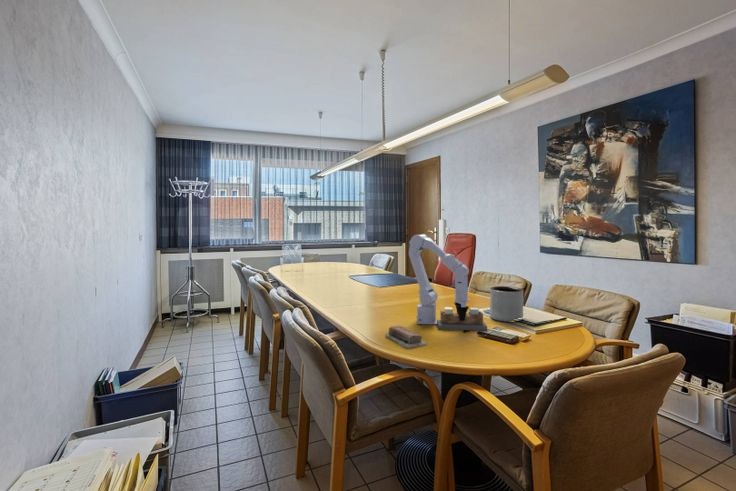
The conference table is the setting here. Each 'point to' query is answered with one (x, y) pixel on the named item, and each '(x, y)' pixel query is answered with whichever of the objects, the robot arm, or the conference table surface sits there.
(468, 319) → the brown grey lumpy bar
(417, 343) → the packaged product
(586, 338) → the conference table surface
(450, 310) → the crate cream
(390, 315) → the conference table surface
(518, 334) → the conference table surface
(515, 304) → the planter
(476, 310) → the crate greyblue
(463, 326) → the dock
